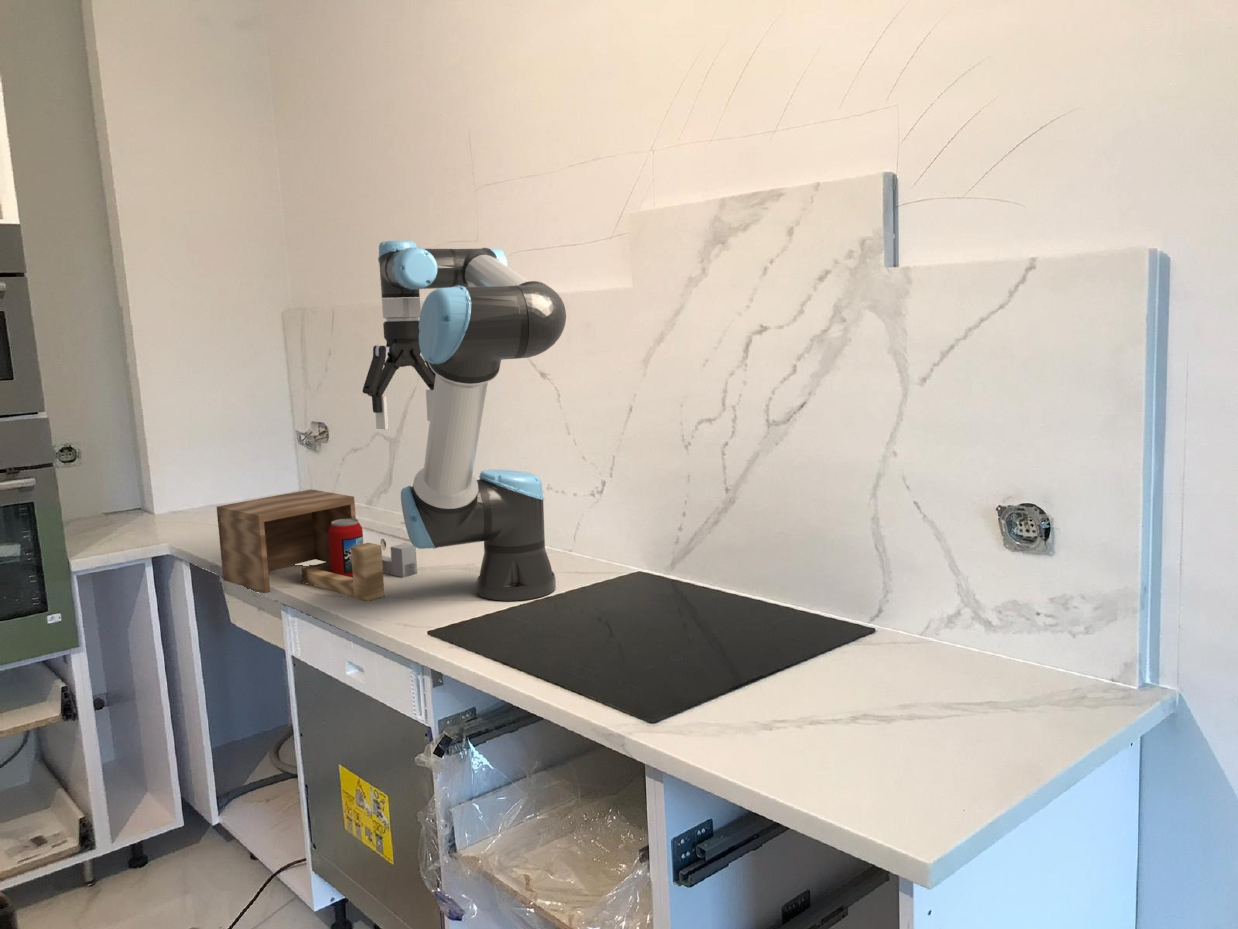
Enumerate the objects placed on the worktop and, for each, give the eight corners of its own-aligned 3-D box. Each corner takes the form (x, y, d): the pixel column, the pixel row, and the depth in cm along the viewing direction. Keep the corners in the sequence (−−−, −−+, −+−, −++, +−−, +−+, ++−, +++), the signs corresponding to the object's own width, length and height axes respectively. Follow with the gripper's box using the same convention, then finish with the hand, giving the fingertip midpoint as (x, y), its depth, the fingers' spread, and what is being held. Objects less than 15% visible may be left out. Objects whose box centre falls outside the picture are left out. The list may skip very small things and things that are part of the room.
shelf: (359, 568, 212) (354, 496, 210) (265, 592, 196) (258, 515, 193) (316, 557, 223) (310, 489, 220) (223, 580, 206) (216, 506, 203)
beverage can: (357, 583, 200) (352, 525, 198) (325, 582, 202) (321, 524, 200) (371, 574, 207) (367, 518, 205) (341, 573, 208) (336, 517, 206)
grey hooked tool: (417, 573, 207) (415, 545, 206) (403, 577, 204) (401, 549, 203) (376, 564, 216) (374, 536, 215) (362, 567, 213) (360, 540, 212)
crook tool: (408, 588, 196) (404, 539, 194) (367, 601, 188) (363, 549, 186) (339, 572, 209) (336, 526, 208) (299, 583, 202) (295, 535, 200)
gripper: (435, 317, 212) (440, 416, 216) (339, 322, 193) (347, 431, 196) (460, 317, 208) (465, 418, 211) (364, 321, 188) (372, 433, 192)
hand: (408, 425), depth 204 cm, fingers open, 13 cm apart
